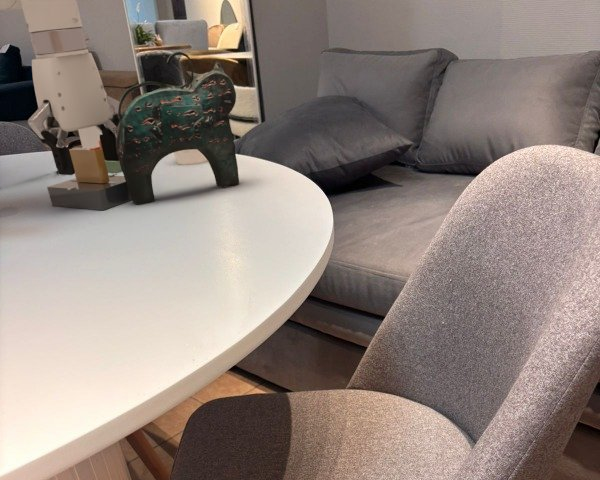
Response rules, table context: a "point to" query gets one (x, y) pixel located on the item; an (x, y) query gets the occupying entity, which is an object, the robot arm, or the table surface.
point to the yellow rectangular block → (89, 165)
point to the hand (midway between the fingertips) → (90, 167)
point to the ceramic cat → (177, 129)
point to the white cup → (189, 157)
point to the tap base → (90, 193)
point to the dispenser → (113, 166)
